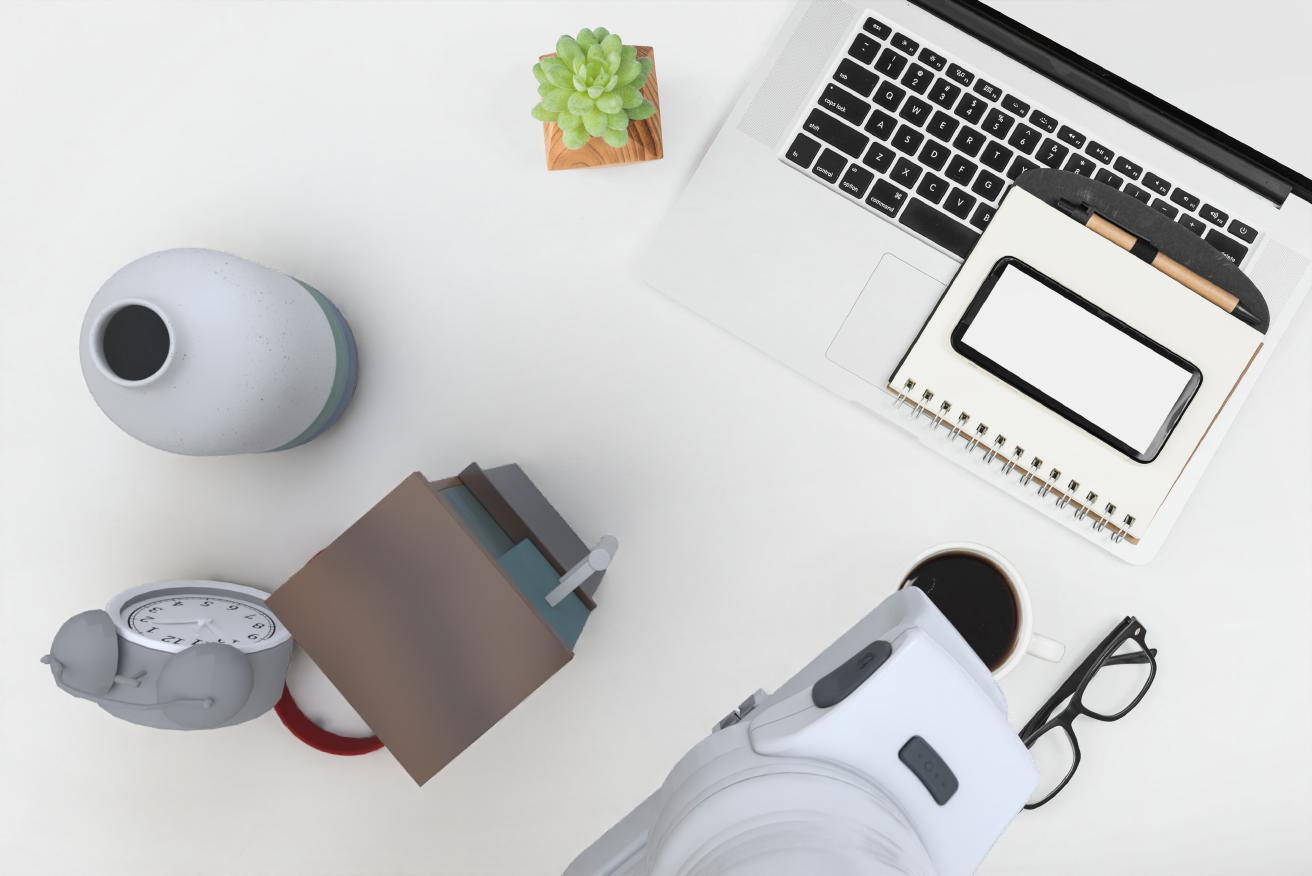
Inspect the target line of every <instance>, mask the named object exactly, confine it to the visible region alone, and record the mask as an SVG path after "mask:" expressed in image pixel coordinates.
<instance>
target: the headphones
mask: <svg viewBox="0 0 1312 876" xmlns="http://www.w3.org/2000/svg"><path fill="white" fill-rule="evenodd" d="M324 549H325V548H323V549H321V550H320V551H319V552H317V553H316V554H315V555H314V556H313V557H311V559H309V561H307V563H306V564H305V565H307V564H308V563H309V562H310V561H311V560H312V559H314V558H315V557H316V556H317V555H318V554H319V553H321V552H322V551H323V550H324ZM287 683H288V682H287V678H286V679H285V683H284V688H283V692H282V697H281V699H280V700H279V701H278V702H277V704H276V705H275V706H274V707H273V709H274V712H275V713H276V715H277V717H278V718H279V720H280V722H281V723H282V724H283V725H284V726H285V728H287V730H288V731H290V733H291V734H292V735H293V736H294V737H295V738H297V739H298V740H299V741H301V742H302V743H304V744H306V745H307V746H308V747H311V748H313V749H315V750H317V751H320V752H323V753H326V754H329V755H334V756H342V757H354V756H355V757H356V756H362V755H367V754H370V753H373V752H376V751H378V750H381V749H382V748H384V747H386V746H385V745H384V744H383V743H382V742H381V741H380V739H379V738H378V737H377V736H376V735H373V736H370V737H361V738H357V737H348V736H341V735H338V734H335V733H332V732H329V731H327V730H325V729H323V728H321V727H319V726H318V725H316V724H315V723H314V722H313V721H312V720H311V719H310V718H308V717H307V716H306V715H305V714H304V713H303V712H302V711H301V709H299V707H298V705H297V703H296V702H295V700H294V698H293V696H292V694H291V692H290V689H289V687H288V685H287Z"/></svg>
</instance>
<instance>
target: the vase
mask: <svg viewBox="0 0 1312 876" xmlns="http://www.w3.org/2000/svg"><path fill="white" fill-rule="evenodd" d="M78 344H79V345H78V350H79V351H78V352H79V354H78V355H79V363H80V368H81V372H82V376H83V379H84V382H85V384H86V387H87V389H88V391H89V393H90V395H91V398H93V400H94V402H95V403H96V405H97V407H98V408H99V409H100V410H101V411H102V413H103V414H104V415H105V416H106V417H107V418H108V419H109V420H110V421H111V422H112V423H113V425H116V426H117V427H118V428H119V429H120V430H122V432H124V433H126V435H127V434H128V435H129V436H130V437H132V438H133V439H135V440H137V441H139V442H140V443H143V444H144V445H146V446H149V447H151V448H154V449H156V450H159V451H162V452H167V453H169V454H171V453H172V454H175V455H180V456H189V457H224V456H225V457H226V456H238V455H239V456H240V455H254V454H263V453H266V454H267V453H274V452H281V451H287V450H290V449H295V448H297V447H299V446H303V445H305V444H307V443H309V442H312V441H314V440H315V439H317V438H319V437H321V435H323V434H324V433H325V432H327V431H328V430H329V429H331V428H332V427H333V426H334V424H336V423H337V421H338V420H339V419H340V418H341V417H342V416H343V414H344V412H345V411H346V410H347V408H348V406H349V405H350V404H351V403H350V402H351V400H352V398H353V397H354V393H355V390H356V387H357V384H358V379H359V367H360V366H359V365H360V364H359V363H360V362H359V352H358V347H357V343H356V340H355V336H354V334H353V332H352V329H351V327H350V325H349V323H348V320H346V318H345V317H344V315H343V314H342V312H341V311H340V310H339V308H338V307H337V306H336V305H335V304H334V303H333V302H332V301H331V299H329V298H328V297H327V296H326V295H324V294H323V293H322V292H320V291H319V290H318V289H316V288H315V287H313V286H311V285H310V284H308V283H306V282H304V281H301V280H299V279H298V278H296V277H293V276H291V275H288V274H285V273H283V272H280V271H278V270H277V269H276V270H275V269H273V268H270V267H268V266H265V265H262V264H259V263H257V262H256V261H253V260H249V259H247V258H245V257H242V256H239V255H236V254H233V253H230V252H226V251H221V250H217V249H212V248H205V247H204V248H203V247H175V248H170V249H163V250H159V251H156V252H152V253H148V254H147V255H144V256H141V257H139V258H137V259H134V260H132V261H130V262H129V263H128V264H126V265H124V266H122V267H121V268H120V269H118V270H117V271H116V272H115V273H113V274H112V275H111V276H110V277H109V278H108V279H107V280H106V281H105V282H104V283H103V284H102V285H101V286H100V287H99V289H98V290H97V291H96V293H95V294H94V296H93V297H92V299H91V301H90V303H89V305H88V307H87V309H86V311H85V314H84V317H83V320H82V323H81V328H80V333H79V343H78Z"/></svg>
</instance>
